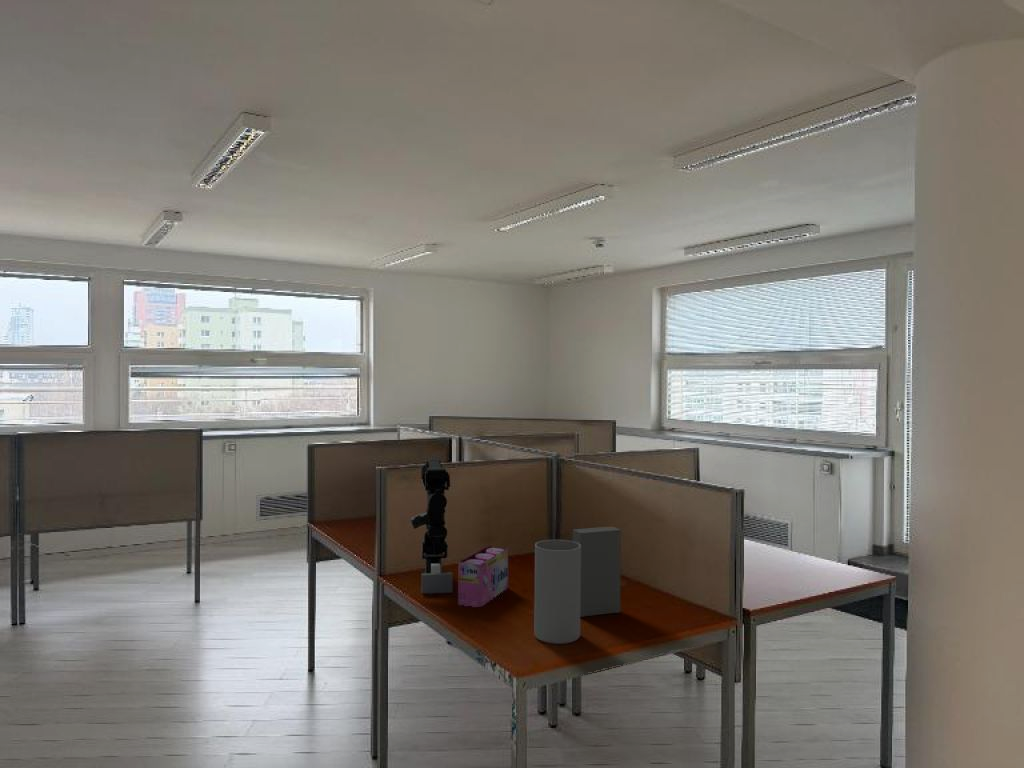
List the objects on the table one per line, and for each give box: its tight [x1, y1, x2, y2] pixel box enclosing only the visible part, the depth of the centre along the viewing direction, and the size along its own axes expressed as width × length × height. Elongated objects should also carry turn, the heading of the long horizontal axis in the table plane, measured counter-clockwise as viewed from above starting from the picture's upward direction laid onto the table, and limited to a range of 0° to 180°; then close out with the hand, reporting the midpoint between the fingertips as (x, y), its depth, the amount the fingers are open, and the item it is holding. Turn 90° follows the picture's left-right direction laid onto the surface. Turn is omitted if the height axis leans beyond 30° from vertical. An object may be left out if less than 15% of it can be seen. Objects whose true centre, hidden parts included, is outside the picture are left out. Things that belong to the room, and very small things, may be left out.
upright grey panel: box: [572, 526, 622, 618], centre depth 215 cm, size 14×6×25 cm, turn 111°
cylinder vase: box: [533, 539, 581, 645], centre depth 194 cm, size 12×12×25 cm
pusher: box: [420, 563, 454, 595], centre depth 237 cm, size 10×10×7 cm
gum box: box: [457, 545, 509, 608], centre depth 230 cm, size 24×8×14 cm, turn 157°
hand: (435, 551), depth 241 cm, fingers open, 9 cm apart
